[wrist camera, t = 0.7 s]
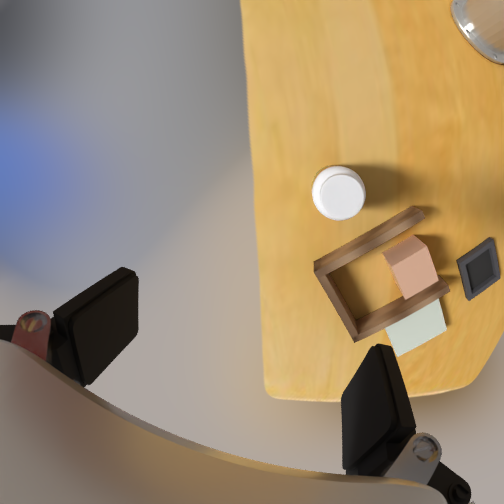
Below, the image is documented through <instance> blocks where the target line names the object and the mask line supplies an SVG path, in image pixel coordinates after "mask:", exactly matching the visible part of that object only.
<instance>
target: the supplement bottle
mask: <svg viewBox="0 0 504 504" xmlns="http://www.w3.org/2000/svg"><path fill="white" fill-rule="evenodd" d="M312 197H313V201H314V204H315V206H316V207H317V209H318V210H319V211H320V212H321V213H322V214H323V215H324V216H326V217H327V218H330V219H333V220H347V219H350V218H352V217H353V216H355V215H356V214H357V213H358V212H359V211H360V210H361V208H362V207H363V205H364V202H365V197H366V191H365V186H364V183H363V181H362V179H361V178H360V177H359V175H358V174H357V173H356V172H354V171H353V170H351V169H349V168H347V167H343V166H337V165H330V166H326V167H324V168H322V169H320V170H319V171H318V172H317V173H316V175H315V176H314V178H313V181H312Z"/></svg>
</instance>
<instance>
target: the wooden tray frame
mask: <svg viewBox="0 0 504 504" xmlns="http://www.w3.org/2000/svg"><path fill="white" fill-rule="evenodd" d="M423 219H425V217H424V214H423V212H422V210H420V209H418V208H416V207H414V206H411V207H409V208H407V209H406V210H404V211H402V212H401V213H399V214H397V215H396V216H394V217H392V218H391V219H389V220H387V221H385V222H384V223H382V224H380V225H379V226H377V227H375V228H373V229H372V230H370V231H368V232H366V233H365V234H363V235H361V236H359V237H358V238H356V239H354V240H352V241H350V242H349V243H347V244H345V245H343V246H341V247H340V248H338V249H336V250H334V251H332V252H331V253H329V254H327V255H325V256H323V257H321V258H320V259H318V260H316V261H314V273H315V275H316V277H317V278H318V280H319V282H320V283H321V285H322V287H323V289H324V290H325V292H326V294H327V295H328V297H329V299H330V300H331V302H332V304H333V306H334V307H335V309H336V311H337V313H338V314H339V316H340V318H341V320H342V321H343V323H344V325H345V327H346V328H347V330H348V332H349V334H350V336H351V337H352V339H353V341H354V343H355V342H357V341H359V340H362V339H364V338H366V337H368V336H370V335H372V334H374V333H376V332H378V331H380V330H382V329H384V328H386V327H388V326H390V325H392V324H394V323H396V322H398V321H400V320H402V319H404V318H405V317H407V316H409V315H411V314H413V313H415V312H416V311H418V310H420V309H422V308H423V307H425V306H427V305H428V304H430V303H432V302H434V301H435V300H437V299H438V298H440V297H442V296H443V295H445V294H447V293H448V292H450V289H449V286H448V284H447V283H446V282H445V281H444V280H443V279H442V278H441V277H440V276H439V275H438V276H437V277H438V280H439V281H437V282H435V283H434V284H432V285H430V286H429V287H427V288H425V289H424V290H422V291H420V292H419V293H417V294H415V295H413V296H412V297H410V298H408V299H406V300H405V298H404V297H403V296H402V297H400V298H399V299H397V300H395V301H393V302H391V303H389V304H387V305H386V306H384V307H382V308H380V309H378V310H376V311H374V312H372V313H370V314H368V315H366V316H364V317H362V318H360V319H358V320H356V321H355V319H354V317H353V315H352V313H351V311H350V309H349V308H348V306H347V304H346V302H345V300H344V298H343V297H342V295H341V293H340V291H339V289H338V288H337V286H336V284H335V282H334V281H333V279H332V277H331V275H330V274H329V273H330V272H332V271H334V270H336V269H337V268H339V267H341V266H343V265H345V264H347V263H349V262H350V261H352V260H354V259H356V258H358V257H360V256H361V255H363V254H365V253H367V252H369V251H370V250H372V249H374V248H376V247H377V246H379V245H381V244H383V243H384V242H386V241H388V240H390V239H391V238H393V237H395V236H396V235H398V234H400V233H402V232H403V231H405V230H407V229H408V228H410V227H412V226H413V225H415V224H417V223H418V222H420V221H422V220H423Z"/></svg>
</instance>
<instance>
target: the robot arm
mask: <svg viewBox="0 0 504 504" xmlns="http://www.w3.org/2000/svg"><path fill="white" fill-rule="evenodd" d="M451 13H452V17H453V19H454V21H455V23H456V25H457V27H458V29H459V30H460V32H461V33H462V34H463V36H464V37H465V38H466V40H467V41H468V42H469V43H470V44H471V45H472V46H473V47H474V48H475V49H476V50H477V51H478V52H479V53H480V54H481V55H483V56H484V57H486V58H487V59H489V60H491V61H492V62H495V63H498V64H504V0H453V1H452V3H451ZM138 279H139V278H138V276H136V273H135V271H132V270H130V269H127V268H125V267H121V268H119V269H117V270H116V271H114V272H113V273H111V274H109V275H108V276H106V277H105V278H103V279H102V280H100V281H98V282H97V283H95V284H94V285H92V286H90V287H89V288H87V289H86V290H84V291H83V292H81V293H80V294H78V295H77V296H75V297H74V298H72V299H71V300H69V301H68V302H66V303H65V304H63V305H62V306H60V307H59V308H57V309H56V310H55V311H53V314H54V317H53V318H50V316H49V315H48V314H47V313H45V312H43V311H39V310H32V311H28V312H26V313H24V314H22V315H21V316H20V317H19V319H18V320H17V323H16V325H0V504H475V503H474V502H471V503H470V498H471V489H470V486H469V485H468V483H467V482H466V481H465V480H464V479H462V478H461V477H460V476H458V475H457V474H456V473H454V472H453V471H452V470H450V469H449V468H448V467H447V466H445V465H444V464H442V463H441V462H440V458H441V455H442V449H441V446H440V444H439V442H438V441H437V439H436V438H434V437H433V436H432V435H430V434H428V433H417V434H416V430H415V428H416V424H415V420H414V416H413V412H412V409H411V405H410V401H409V398H408V394H407V391H406V388H405V385H404V381H403V378H402V375H401V372H400V369H399V366H398V363H397V360H396V357H395V354H394V351H393V348H392V347H391V346H388V345H383V344H377V345H375V346H372V347H371V348H370V349H369V351H368V353H367V355H366V356H365V358H364V360H363V362H362V363H361V365H360V367H359V368H358V370H357V372H356V373H355V375H354V376H353V378H352V380H351V381H350V383H349V384H348V386H347V387H346V389H345V390H344V392H343V394H342V397H341V408H342V409H341V410H342V445H343V446H342V453H343V455H342V459H343V460H342V462H343V463H342V464H343V465H342V466H343V469H344V470H346V475H341V474H331V473H323V472H315V471H307V470H300V469H294V468H288V467H282V466H277V465H272V464H268V463H263V462H259V461H255V460H251V459H247V458H243V457H239V456H236V455H232V454H229V453H225V452H222V451H219V450H216V449H213V448H210V447H207V446H204V445H201V444H198V443H195V442H193V441H190V440H187V439H185V438H182V437H179V436H177V435H174V434H172V433H170V432H167V431H165V430H163V429H160V428H158V427H156V426H154V425H152V424H149V423H147V422H145V421H143V420H141V419H139V418H137V417H135V416H133V415H130V414H129V413H127V412H125V411H123V410H121V409H120V408H118V407H116V406H114V405H112V404H110V403H109V402H107V401H105V400H104V399H102V398H100V397H98V396H97V395H95V394H94V393H92V392H90V391H88V390H87V389H85V388H84V387H85V386H86V385H90V384H92V383H93V382H94V380H95V379H96V378H97V377H98V376H99V375H100V374H101V373H102V372H103V371H104V370H105V369H106V368H107V366H108V365H109V364H110V363H111V362H112V361H113V360H114V359H115V358H116V357H117V356H118V355H119V354H120V353H121V351H122V350H123V349H124V348H125V347H126V346H127V345H128V344H129V343H130V342H131V341H132V340H133V339H134V338H135V337H136V335H137V333H138V284H139V280H138Z"/></svg>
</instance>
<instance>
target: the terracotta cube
mask: <svg viewBox="0 0 504 504" xmlns="http://www.w3.org/2000/svg"><path fill="white" fill-rule="evenodd" d="M382 254H383V256H384V258H385V260H386V263H387V265H388V267H389V269H390V271H391V274H392V276H393V278H394V281H395V283H396V285H397V286H398V288H399V290H400V291H401V293H402V295H403V297H404V298H405V300H406V299H408V298H410V297H412V296H413V295H415V294H417V293H419V292H420V291H422V290H424V289H425V288H427V287H429V286H430V285H432V284H434V283H435V282H437V281H439V280H438V277H437V273H436V270H435V267H434V264H433V262H432V259H431V256H430V253H429V250H428V248H427V246H426V245H425V244H424V243H423V242H422V241H420V240H419V239H418V238H417V237H416V236H414V235H412V236H410V237H408V238H407V239H405V240H403V241H401V242H400V243H398V244H396V245H395V246H393V247H391V248H389V249H388V250H386V251H384V252H382Z"/></svg>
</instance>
